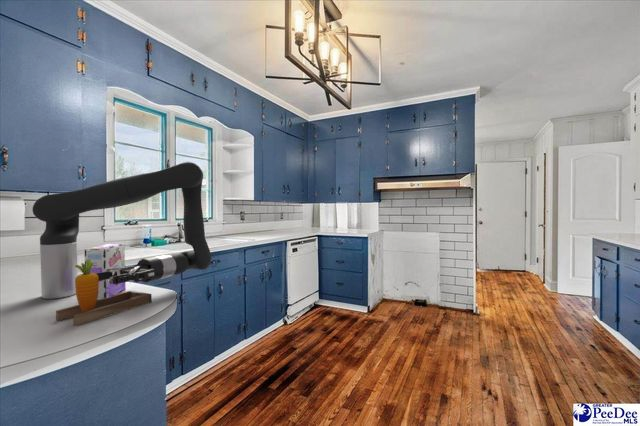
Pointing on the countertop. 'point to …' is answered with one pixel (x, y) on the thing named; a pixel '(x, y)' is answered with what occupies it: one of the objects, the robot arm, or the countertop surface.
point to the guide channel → (105, 307)
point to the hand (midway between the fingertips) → (104, 279)
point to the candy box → (106, 266)
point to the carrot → (86, 287)
